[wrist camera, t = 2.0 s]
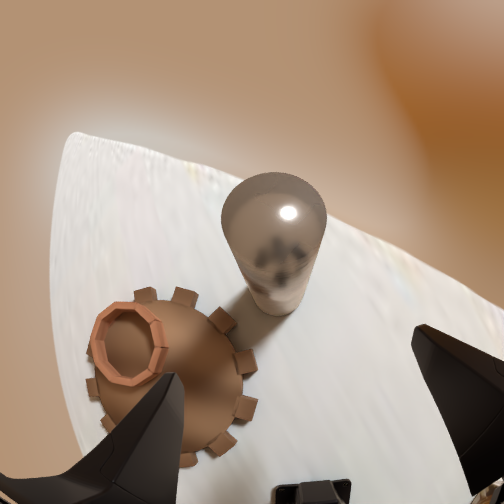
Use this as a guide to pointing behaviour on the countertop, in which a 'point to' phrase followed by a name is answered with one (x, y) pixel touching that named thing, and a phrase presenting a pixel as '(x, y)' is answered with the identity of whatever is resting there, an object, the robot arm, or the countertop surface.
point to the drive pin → (275, 237)
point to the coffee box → (486, 494)
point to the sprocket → (172, 365)
